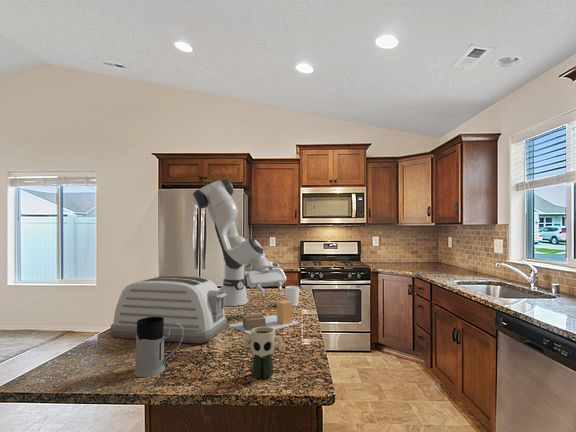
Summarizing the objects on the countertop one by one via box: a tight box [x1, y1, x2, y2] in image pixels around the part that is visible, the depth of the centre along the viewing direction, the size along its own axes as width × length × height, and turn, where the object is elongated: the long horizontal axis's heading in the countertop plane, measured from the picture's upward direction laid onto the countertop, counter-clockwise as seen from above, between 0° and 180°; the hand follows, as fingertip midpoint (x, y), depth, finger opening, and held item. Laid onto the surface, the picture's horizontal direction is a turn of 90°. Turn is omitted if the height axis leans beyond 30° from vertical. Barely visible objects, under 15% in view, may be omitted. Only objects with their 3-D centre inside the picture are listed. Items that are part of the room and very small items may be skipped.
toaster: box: [109, 275, 228, 345], centre depth 133 cm, size 23×45×22 cm, turn 78°
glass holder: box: [133, 317, 184, 378], centre depth 98 cm, size 9×14×15 cm, turn 94°
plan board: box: [227, 314, 301, 336], centre depth 141 cm, size 18×26×1 cm
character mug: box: [243, 327, 282, 379], centre depth 94 cm, size 11×7×13 cm, turn 91°
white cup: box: [284, 285, 300, 307], centre depth 181 cm, size 8×8×10 cm
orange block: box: [276, 299, 293, 325], centre depth 144 cm, size 5×5×9 cm
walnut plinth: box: [242, 313, 266, 330], centre depth 137 cm, size 8×8×4 cm
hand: (272, 292), depth 151 cm, fingers open, 8 cm apart
